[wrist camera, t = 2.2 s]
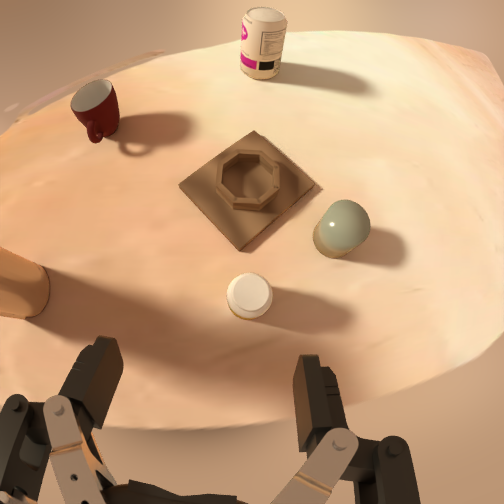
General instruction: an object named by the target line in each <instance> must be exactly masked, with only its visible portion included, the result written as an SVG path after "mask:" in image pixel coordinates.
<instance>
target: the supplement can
mask: <svg viewBox="0 0 504 504" xmlns="http://www.w3.org/2000/svg"><path fill="white" fill-rule="evenodd" d="M286 27H287V20H286V18H285V15H284V13H282V12H281V11H279V10H277V9H273V8H269V7H256V8H252V9H249V10H248V11H247V13H246V15H245V16H244V18H243V22H242V40H241V61H240V68H241V71H242V72H243V73H244V74H246V75H247V76H249V77H251V78H254V79H261V80H263V79H269V78H271V77H273V76H275V75H276V74H277V73H278V72H279V67H280V61H281V56H282V50H283V45H284V39H285V33H286Z"/></svg>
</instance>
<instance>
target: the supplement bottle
mask: <svg viewBox="0 0 504 504" xmlns="http://www.w3.org/2000/svg"><path fill="white" fill-rule="evenodd" d="M272 298H273V293H272V288H271V286H270V284H269V282H268V281H267V280H266V279H265V278H264V277H262V276H261V275H258V274H256V273H244V274H241V275H239V276H237V277H236V278H235V279H234V280H233V281H232V282H231V283H230V285H229V287H228V290H227V302H228V305H229V308H230V310H231V311H232V313H233V314H234V315H235V316H237V317H239V318H241V319H245V320H250V319H255V318H257V317H259V316H261V315H263V314H264V313H265V312H266V311H267V310H268V309H269V307H270V305H271V303H272Z"/></svg>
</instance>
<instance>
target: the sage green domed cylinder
mask: <svg viewBox="0 0 504 504" xmlns="http://www.w3.org/2000/svg"><path fill="white" fill-rule="evenodd" d="M369 232H370V219H369V217H368V214H367V213H366V211H365V210H364V209H363V208H362V207H361V206H360V205H359V204H357V203H356V202H353V201H350V200H340V201H337V202H335V203H333V204H332V205H331V206H330V208H329V209H328V210H327V212H326V213H325V215H324V216H323V217H322V219H321V220H320V221H319V223H318V224H317V225H316V227H315V229H314V232H313V241H314V244H315V246H316V248H317V250H318V251H319V252H320V253H321V254H323V255H324V256H326V257H329V258H340V257H343V256H344V255H346V254H347V253H348V252H350V251H351V250H352V249H354V248H355V247H356V246H358V245H359V244H360V243H362V242H363V241H364V240H365V239H366V238H367V237H368V235H369Z"/></svg>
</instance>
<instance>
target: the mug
mask: <svg viewBox="0 0 504 504" xmlns="http://www.w3.org/2000/svg"><path fill="white" fill-rule="evenodd" d="M71 109H72V111H73V112H74V114H75V116H76V117H77V119H78V120H79V121H80V122H81V123H82V124H83V125H84V126H85V127H86V128H87V134H88V137H89V139H90V141H91V142H92V143H99V142H100V141H101V140H102V138H103V137H106V136H109V135H111V134H113V133H114V132H115V131H116V129H117V127H118V123H119V117H120V114H119V108H118V102H117V96H116V93H115V90H114V88H113V86H112V84H111V82H110V81H108V80H103V79H102V80H96V81H93V82H91V83H88V84H86V85H85V86H83V87H82V88H81V89H80V90H79V91H78V92H77V93H76V94H75V95H74V97H73V98H72V101H71Z"/></svg>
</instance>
